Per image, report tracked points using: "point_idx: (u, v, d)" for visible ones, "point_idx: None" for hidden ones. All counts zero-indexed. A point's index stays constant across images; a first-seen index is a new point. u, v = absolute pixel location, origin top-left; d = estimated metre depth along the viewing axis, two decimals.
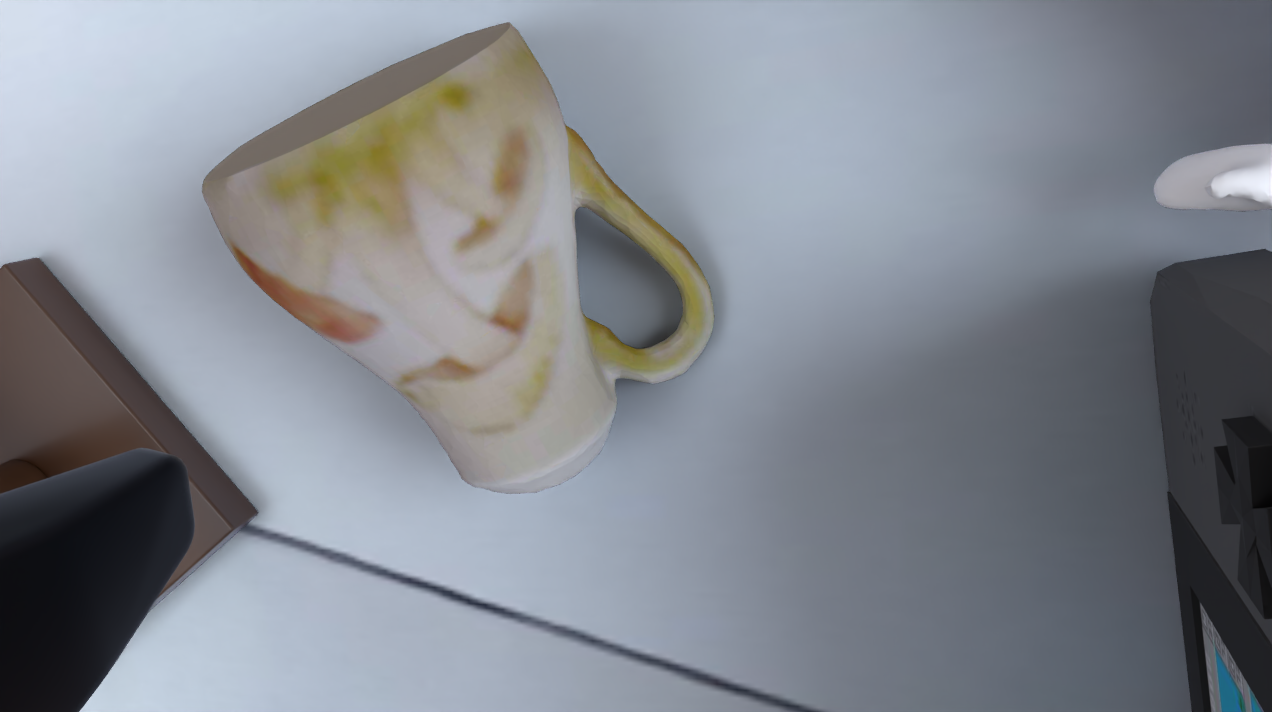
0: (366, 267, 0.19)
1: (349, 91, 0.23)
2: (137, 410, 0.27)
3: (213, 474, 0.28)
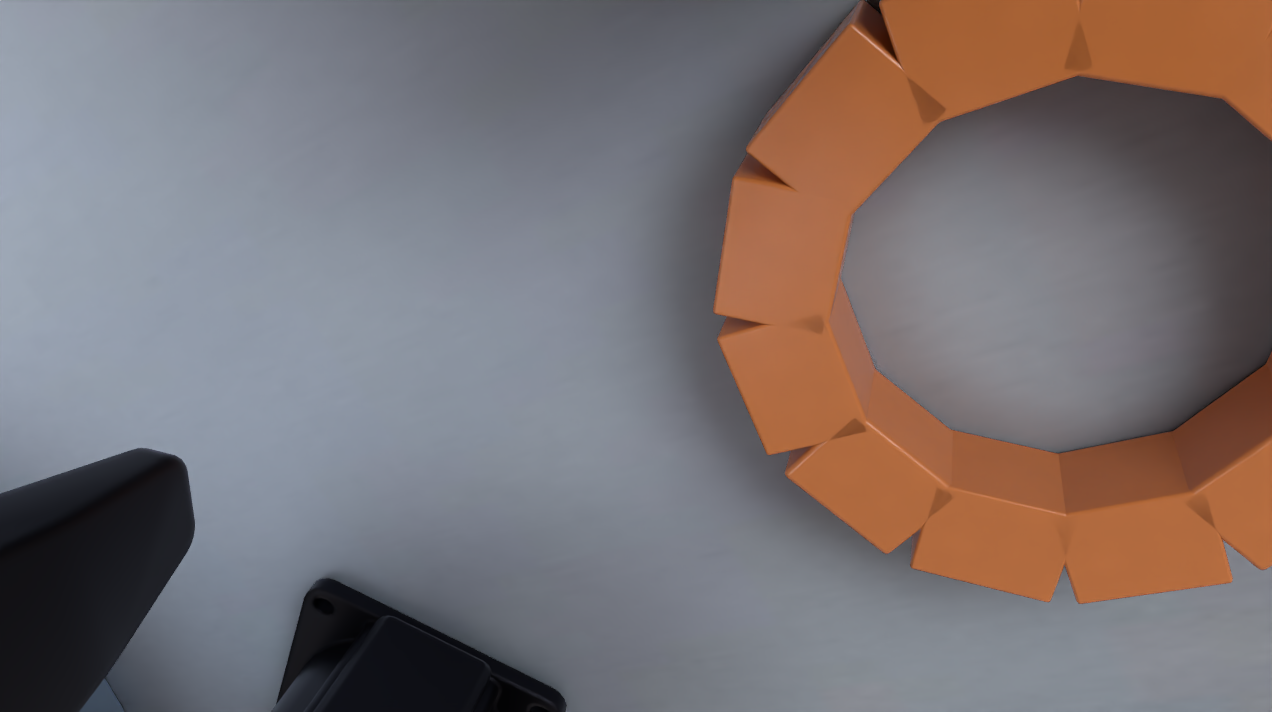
0: None
1: None
2: None
3: None
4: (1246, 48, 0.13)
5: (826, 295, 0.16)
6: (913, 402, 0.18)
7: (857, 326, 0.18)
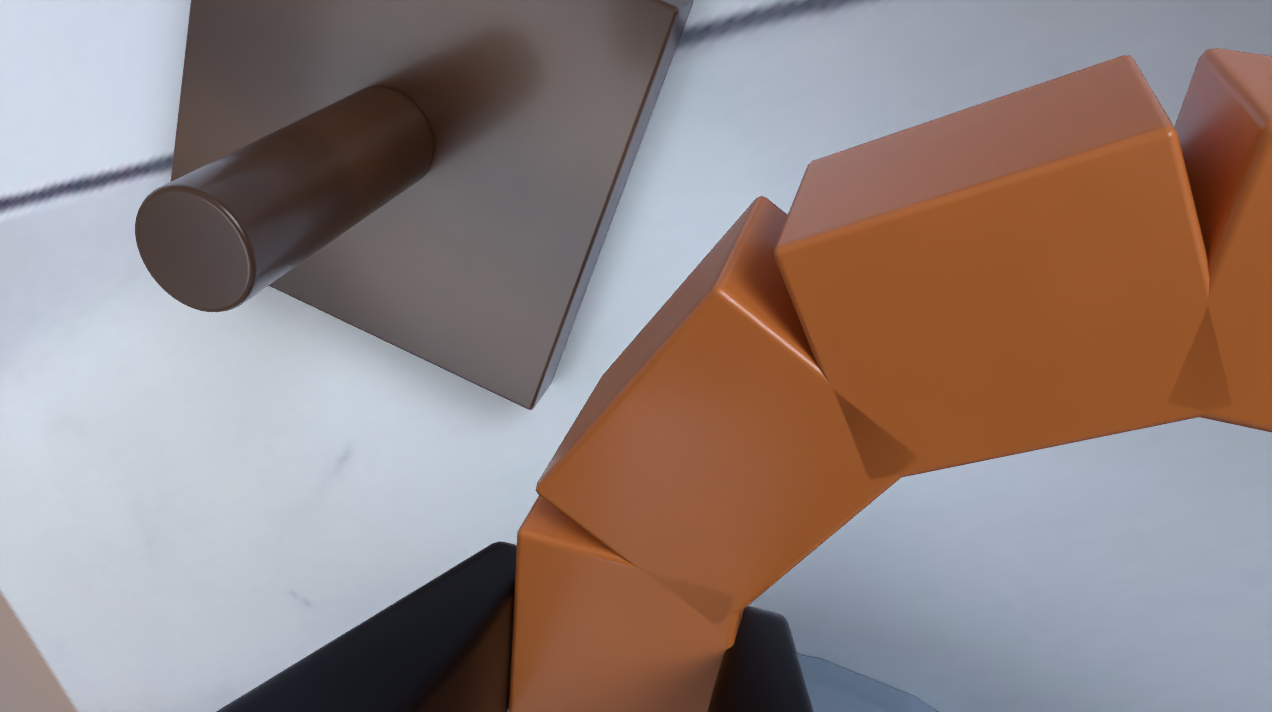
0: None
1: None
2: None
3: None
4: None
5: None
6: None
7: None
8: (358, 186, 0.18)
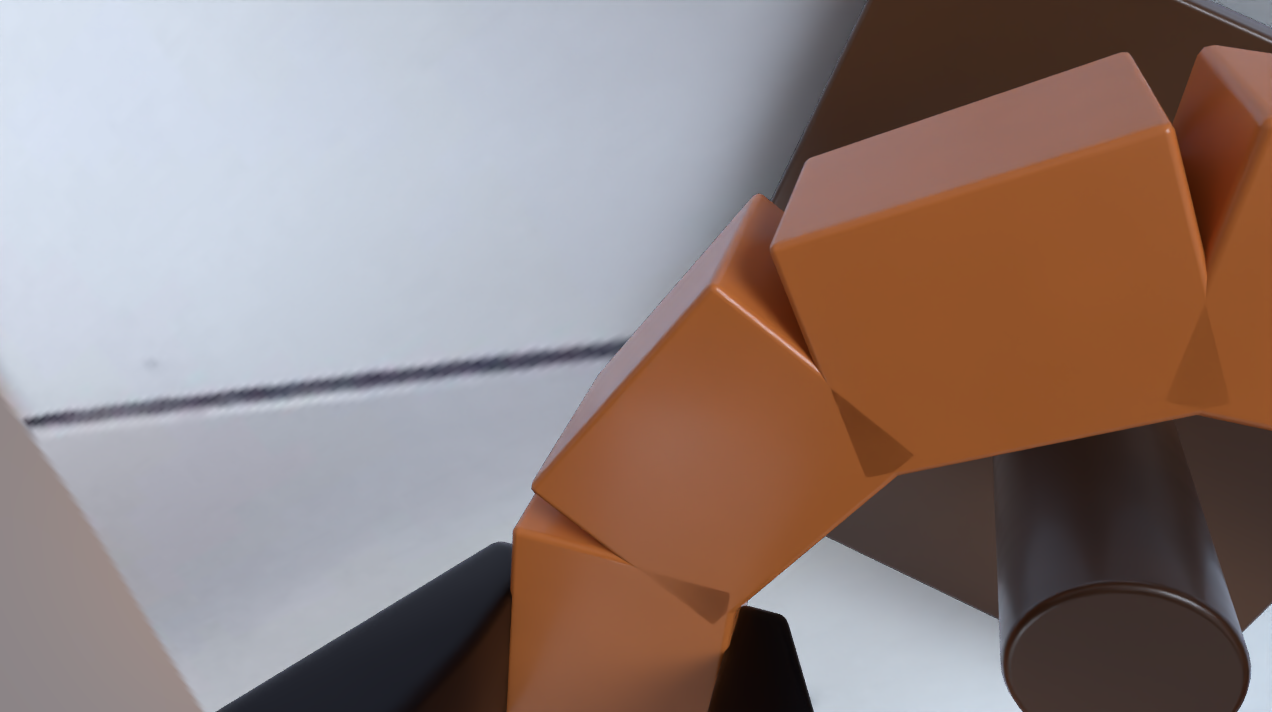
0: None
1: None
2: None
3: None
4: None
5: None
6: None
7: None
8: None
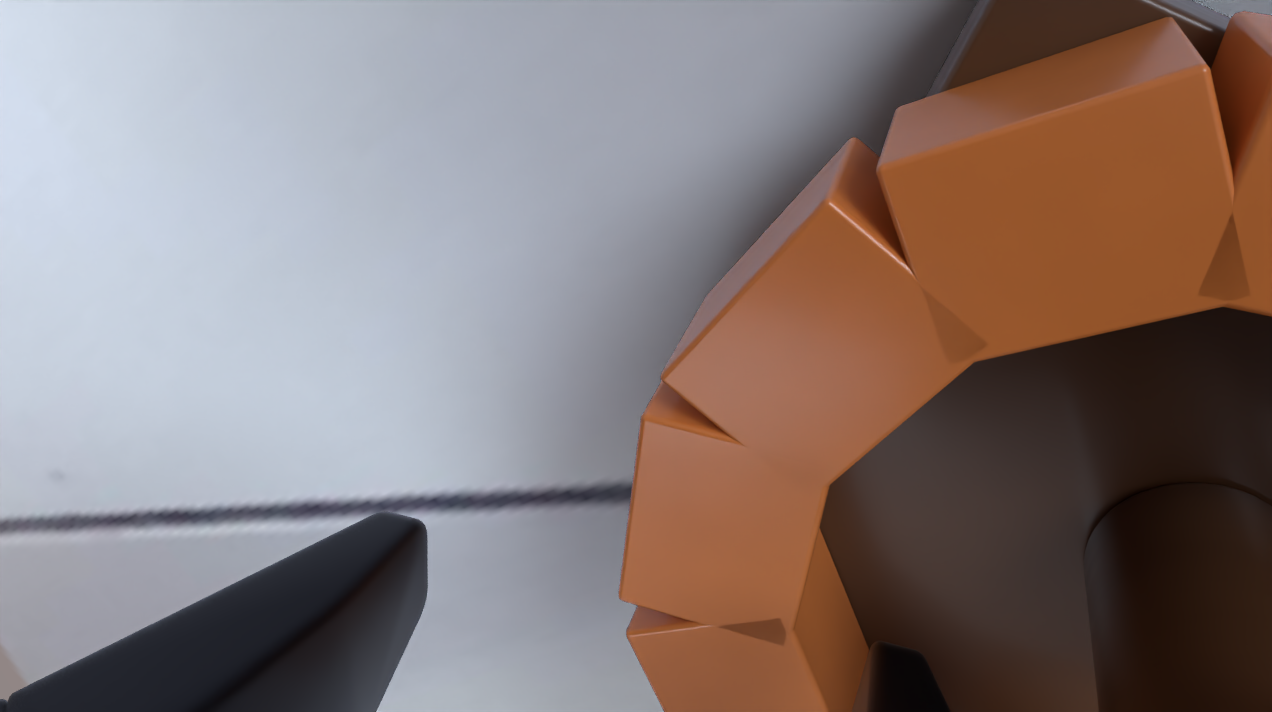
0: None
1: None
2: None
3: None
4: None
5: (790, 593, 0.10)
6: None
7: (843, 596, 0.12)
8: None
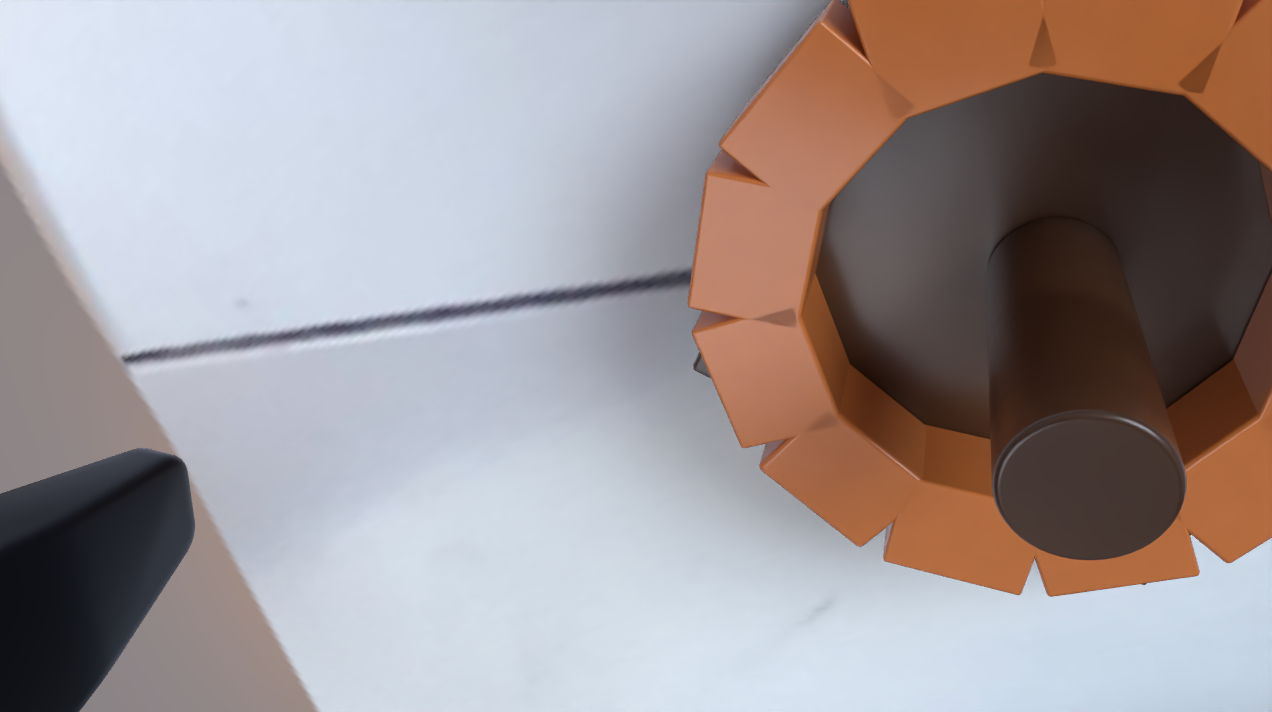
0: None
1: None
2: None
3: None
4: (1207, 46, 0.13)
5: (798, 289, 0.16)
6: (887, 397, 0.18)
7: (832, 321, 0.18)
8: None
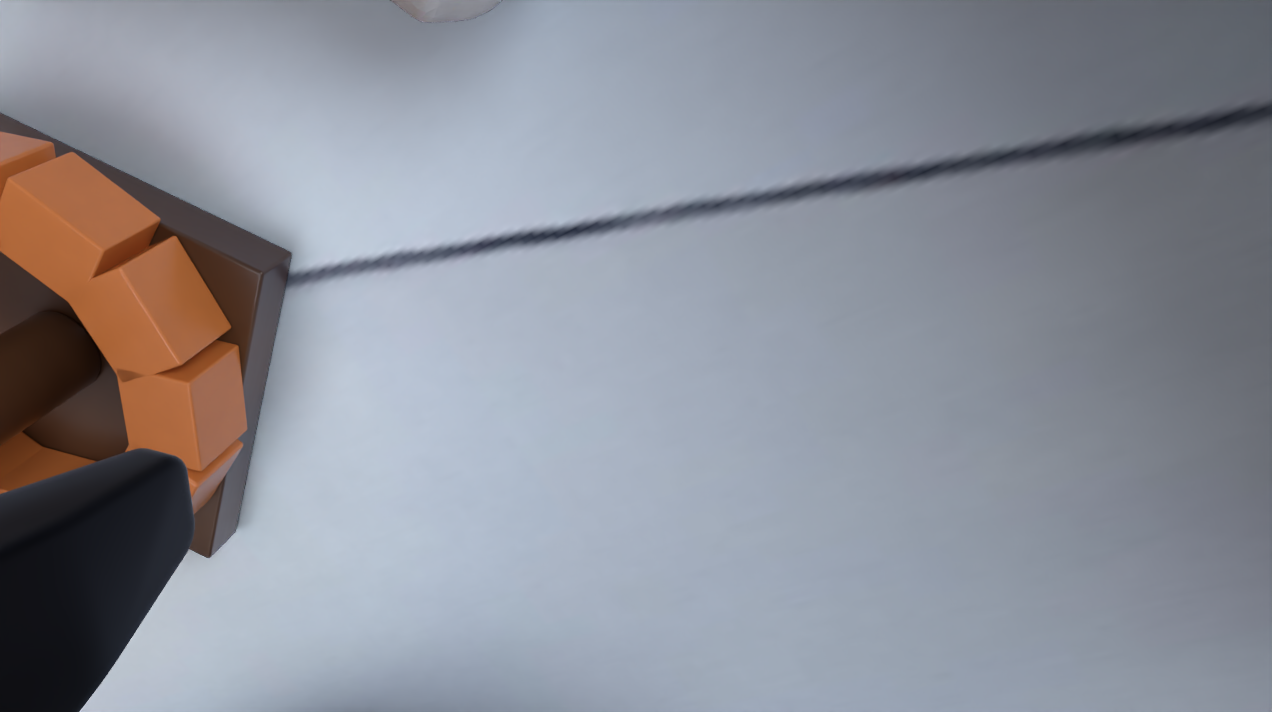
0: None
1: None
2: None
3: (221, 229, 0.23)
4: None
5: None
6: None
7: None
8: (4, 414, 0.22)
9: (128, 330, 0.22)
